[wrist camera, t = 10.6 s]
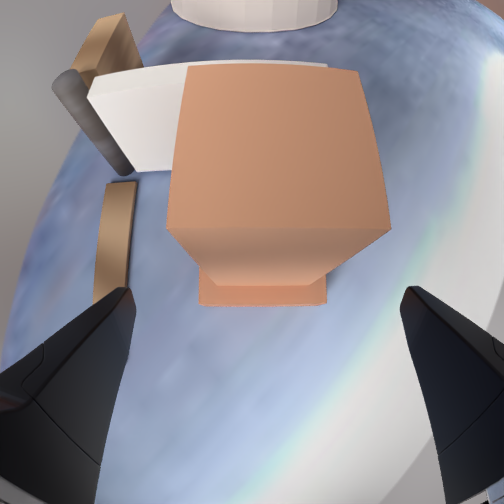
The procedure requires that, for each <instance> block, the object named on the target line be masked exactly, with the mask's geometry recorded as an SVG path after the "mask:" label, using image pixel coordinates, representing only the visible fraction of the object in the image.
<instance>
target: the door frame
mask: <svg viewBox="0 0 504 504" xmlns="http://www.w3.org/2000/svg"><path fill="white" fill-rule="evenodd" d="M139 68H144V66H143V63H142V61H141V58H140V55H139V52H138V50H137V47H136V44H135V42H134V39H133V36H132V33H131V30H130V28H129V25H128V22H127V19H126V17H125V14H124V13H120V14H116V15H112V16H108V17H104V18H100V19H98V20H97V22H96V23H95V25H94V27H93V28H92V30H91V31H90V33H89V35H88V36H87V38H86V40H85V42H84V44H83V45H82V48H81V49H80V51H79V53H78V55H77V57H76V58H75V60H74V62H73V64H72V66H71V68H70V69H69V70H67V71H65V72H63V73H62V74H60V75H59V76H58V77H57V78H56V79H55V81H54V82H53V84H52V90H53V92H54V93H55V94H56V96H57V97H58V98H59V100H60V101H61V102H62V104H63V105H64V106H65V108H66V109H67V110H68V112H69V113H70V114H71V116H72V117H73V118H74V120H75V121H76V122H77V123H78V125H79V126H80V127H81V129H82V130H83V131H84V132H85V134H86V135H87V136H88V138H89V139H90V140H91V141H92V143H93V144H94V145H95V146H96V148H97V149H98V150H99V151H100V153H101V154H102V155H103V156H104V158H105V159H106V160H107V161H108V162H109V164H110V165H111V166H112V167H113V169H114V170H115V171H116V172H117V173H118V175H120V176H127V175H129V174H131V173H132V172H133V171H134V169H135V168H134V167H133V165H132V164H131V163H130V161H129V160H128V158H127V157H126V155H125V154H124V153H123V151H122V150H121V148H120V147H119V145H118V144H117V142H116V141H115V139H114V138H113V136H112V135H111V133H110V132H109V130H108V129H107V128H106V126H105V125H104V123H103V122H102V120H101V119H100V117H99V115H98V114H97V112H96V111H95V109H94V108H93V106H92V105H91V103H90V102H89V100H88V99H87V95H88V93H89V90H90V88H91V85H92V83H93V80H94V78H95V77H97V76H102V75H106V74H111V73H116V72H121V71H127V70H133V69H139ZM136 190H137V183H136V181H135V182H121V183H108V184H106V189H105V195H104V201H103V207H102V213H101V220H100V227H99V235H98V244H97V253H96V263H95V275H94V289H93V304H95V303H96V302H98V301H99V300H100V299H102V298H103V297H104V296H106V295H107V294H109V293H110V292H111V291H113V290H114V289H115V288H117V287H127V278H128V264H129V251H130V240H131V230H132V221H133V213H134V205H135V197H136Z"/></svg>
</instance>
